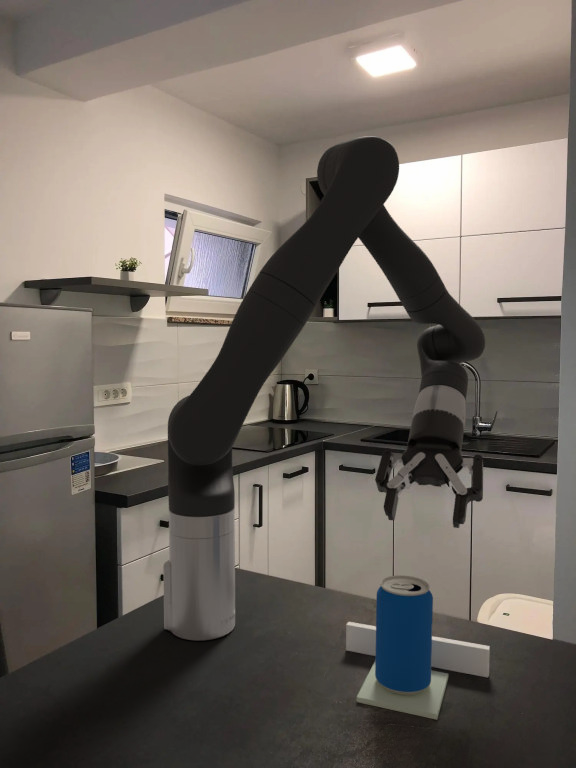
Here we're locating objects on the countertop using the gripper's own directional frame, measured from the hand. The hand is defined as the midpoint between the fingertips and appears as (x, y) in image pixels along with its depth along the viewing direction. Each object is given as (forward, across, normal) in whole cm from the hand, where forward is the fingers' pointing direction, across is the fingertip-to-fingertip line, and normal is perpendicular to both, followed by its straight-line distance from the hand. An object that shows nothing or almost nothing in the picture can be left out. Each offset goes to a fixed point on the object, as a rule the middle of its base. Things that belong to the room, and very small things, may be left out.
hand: (422, 521), depth 83 cm
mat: (+20, 0, +5) cm, 20 cm away
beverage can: (+19, 0, +4) cm, 20 cm away
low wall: (+15, 0, +10) cm, 18 cm away
